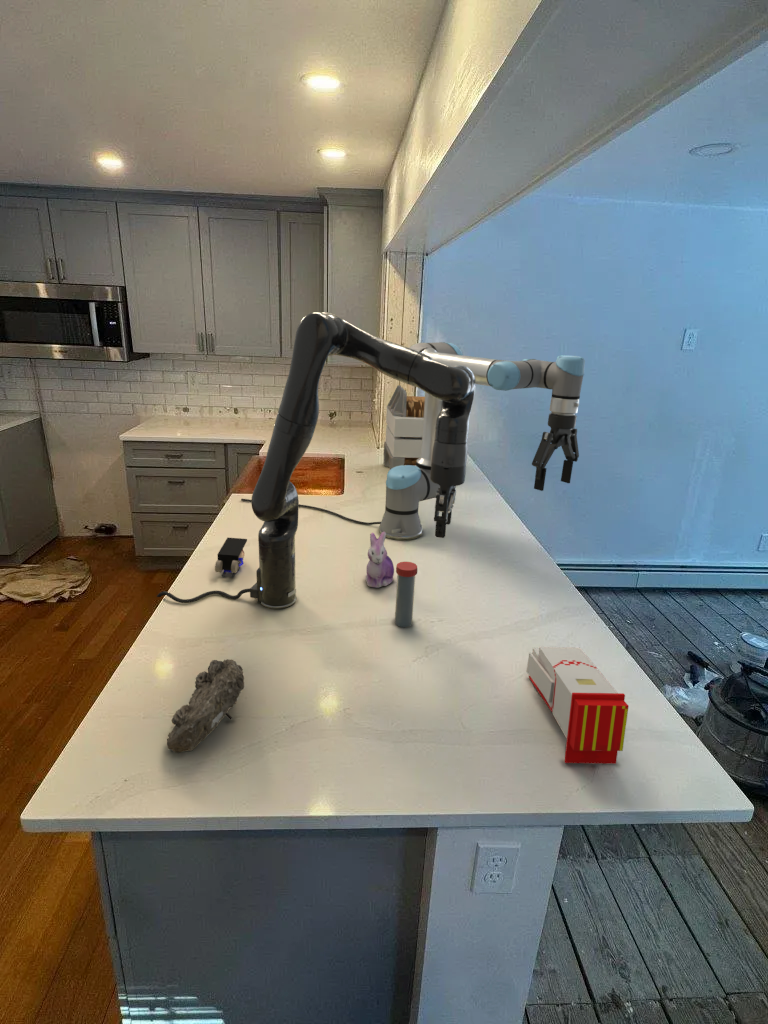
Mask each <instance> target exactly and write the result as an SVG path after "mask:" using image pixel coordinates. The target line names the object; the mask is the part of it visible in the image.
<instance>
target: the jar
mask: <svg viewBox="0 0 768 1024" xmlns="http://www.w3.org/2000/svg"><path fill="white" fill-rule="evenodd" d="M396 574H397V573H396ZM415 587H416V575H415V576H412V577H403V576H400V575H398V574H397V576H396V589H395V590H396V593H395V609H394V624H395V626H397V627H399V628H408V627H409V628H410V627H411V626H412V625H413V619H414V618H413V617H414V616H413V615H414V603H415Z"/></svg>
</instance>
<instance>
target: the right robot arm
mask: <svg viewBox="0 0 768 1024" xmlns="http://www.w3.org/2000/svg"><path fill="white" fill-rule="evenodd" d="M408 348H410V349H413V350H416V351H418V352H421V353H424V354H426V355H428V356H430V357H431V358H432V360H434V361H436V362H439V363H442V364H444V365H447V366H451V367H454V366H465V367H467V368H469V369H470V370H471V371H472V373H473V374H474V377H475V385H479V386H487V387H491V388H492V389H494V390H496V391H503V392H504V391H511V390H520V389H532V388H533V389H534V388H539V389H546V390H551V398H550V404H549V413H548V418H547V419H548V420H547V426H548V427H549V428H550V431H549V432H548V431H543V432H542V435H541V440H540V442H539V445H538V447H537V449H536V452H535V454H534V457H533V460H532V461H531V466H533V467H535V475H534V477H535V478H534V485H533V489H534V490H537V491H539V492H543V491H544V489H545V484H546V483H545V482H546V476H547V468H546V466H547V465H548V463H549V461H550V459H551V457H552V456H553V454H554V453H555V451H556V450H557V449H558V448H560V447H561V449H562V452H563V455H564V458H565V459H563V463H562V468H561V469H562V470H561V475H560V482H562V483H566V484H571V478H572V472H573V466H574V463H576V462H578V461H579V457H580V453H579V444H578V428H576V423H577V419H578V416H577V414H578V412H579V411H578V410H579V406H580V397H581V391H582V385H583V380H584V376H585V365H586V360H585V358H584V357H582V356H578V355H566V354H565V355H564V354H563V355H558V356H557V357H556V360H555V361H549V360H541V359H536V358H524V359H521V360H506V359H505V360H504V359H503V360H502V359H496V358H487V357H479V356H471V355H464V354H463V352H462V350H461V349H460V347H459V346H457V345H456V344H455V343H451V342H445V341H443V342H442V341H441V342H440V341H439V342H438V341H437V342H417V343H414V344H412V345H411V346H409V347H408ZM424 397H425V404H424V419H423V434H422V449H421V457H420V458H418V459H417V461H416V466H413V465H401V466H396V467H394V468H392V469H390V468H389V470H388V472H387V474H386V479H385V504H384V505H385V507H384V508H385V509H384V513H383V515H382V519H381V521H371V522H367V521H360V520H357V519H354V518H353V519H352V518H349V517H347V516H344V515H342V514H339V513H337V512H335V511H332V510H328V509H325V508H321V507H316V506H313V505H308V504H307V505H306V504H299V507H300V508H307V509H313V510H317V511H320V512H325V513H327V514H331V515H334V516H337V517H339V518H341V519H343V520H346V521H349V522H352V523H355V524H360V525H367V526H373V525H379V526H378V533H379V535H381V533H382V532H385V533H386V536H385V538H387V539H389V540H395V541H410V540H415V539H418V538H420V537H421V536H422V535H423V525H422V524H421V518H420V515H419V507H420V506H419V505H420V502H423V501H427V500H431V499H436V492H437V491H438V488H439V487H440V485H438V484H435V483H433V482H432V481H431V479H430V476H431V463H432V451H433V445H434V440H435V427H436V420H437V417H438V415H439V413H440V411H441V406H442V400H440V399H438V398H435V397H434V396H432V395H430V394H428V393H426V392H424ZM251 500H252V499H249V498H248V499H247V498H241V499H240V501H242V502H248V503H251Z"/></svg>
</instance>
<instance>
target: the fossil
mask: <svg viewBox="0 0 768 1024" xmlns="http://www.w3.org/2000/svg"><path fill="white" fill-rule="evenodd" d="M243 670H244V669H243V667H242V665H240V664H237V662H236V661H235V660H234V659H232V658H231V659H227V658H226V659H224V660H223V661H222V660H217V659H212V660H211V661H210V663H209V665H208V666H207V671H201V672H199V673H198V674H197V675H196V676H195V680H194V684H195V685H194V687H195V689H194V690H193V693H192V694H191V697H190V698H189V700H188V704H184V705H182V706H181V707H180V709H177V710H176V711H175V713H174V715H173V716H172V718H171V723H172V724H173V727H172V730H171V731H170V732H168V734H167V738H166V741H167V742H166V745H167V749H168V750H169V751H173V752H174V753H176V754H178V753H182V752H188V751H189V752H192V751H193V750H195V748H196V747H197V746H199V744H200V743H201V742H203V741H204V740H205V739H206V738H207V737H208V736H209V735H210V734H211V733H212V732H214V730H215V729H217V727H218V726H219V724H220V722H221V721H222V720H223V719H224V718H225V716H226V717H227V719H229V720H233V717H232V715H230V714H229V710H230V709H231V708H234V706H235V704H236V703H237V702H238V699H239V697H240V695H241V693H242V691H243V690H245V689H244V688H245V675H244V671H243Z"/></svg>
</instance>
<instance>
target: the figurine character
mask: <svg viewBox="0 0 768 1024" xmlns="http://www.w3.org/2000/svg"><path fill="white" fill-rule="evenodd" d="M247 542H248V538H240V537H226V539H225V541H224V543H223V544H222V546H221V547H220V549H219V551H218V552H217V560H216V562H215V564H214V572H215V573H221V577H222V578H224V577H225V576H226V574H227V573H230V574H231V573H232V574H231V578H234V577H235V575H236V573H237V572H239V571H240V567H242V566H243V565H244V564H245V562H244V558H245V551H244V547H245V546H246V544H247Z"/></svg>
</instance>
